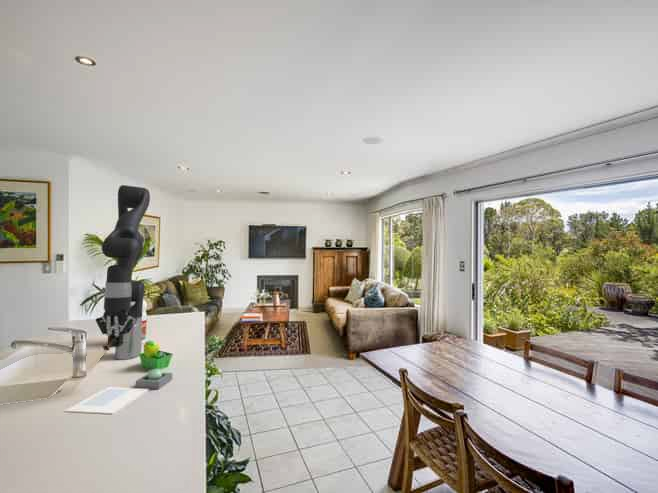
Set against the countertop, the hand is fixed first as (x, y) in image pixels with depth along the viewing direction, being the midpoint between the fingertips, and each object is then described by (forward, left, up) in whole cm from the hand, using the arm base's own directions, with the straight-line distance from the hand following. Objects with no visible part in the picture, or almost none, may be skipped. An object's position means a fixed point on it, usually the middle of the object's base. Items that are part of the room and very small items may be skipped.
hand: (114, 346), depth 101 cm
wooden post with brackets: (0, 0, 0) cm, 1 cm away
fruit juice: (-49, -27, -14) cm, 58 cm away
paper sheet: (+8, +6, -14) cm, 17 cm away
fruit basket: (-20, +2, -14) cm, 24 cm away
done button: (-4, +12, -12) cm, 17 cm away
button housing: (-4, +12, -14) cm, 19 cm away
